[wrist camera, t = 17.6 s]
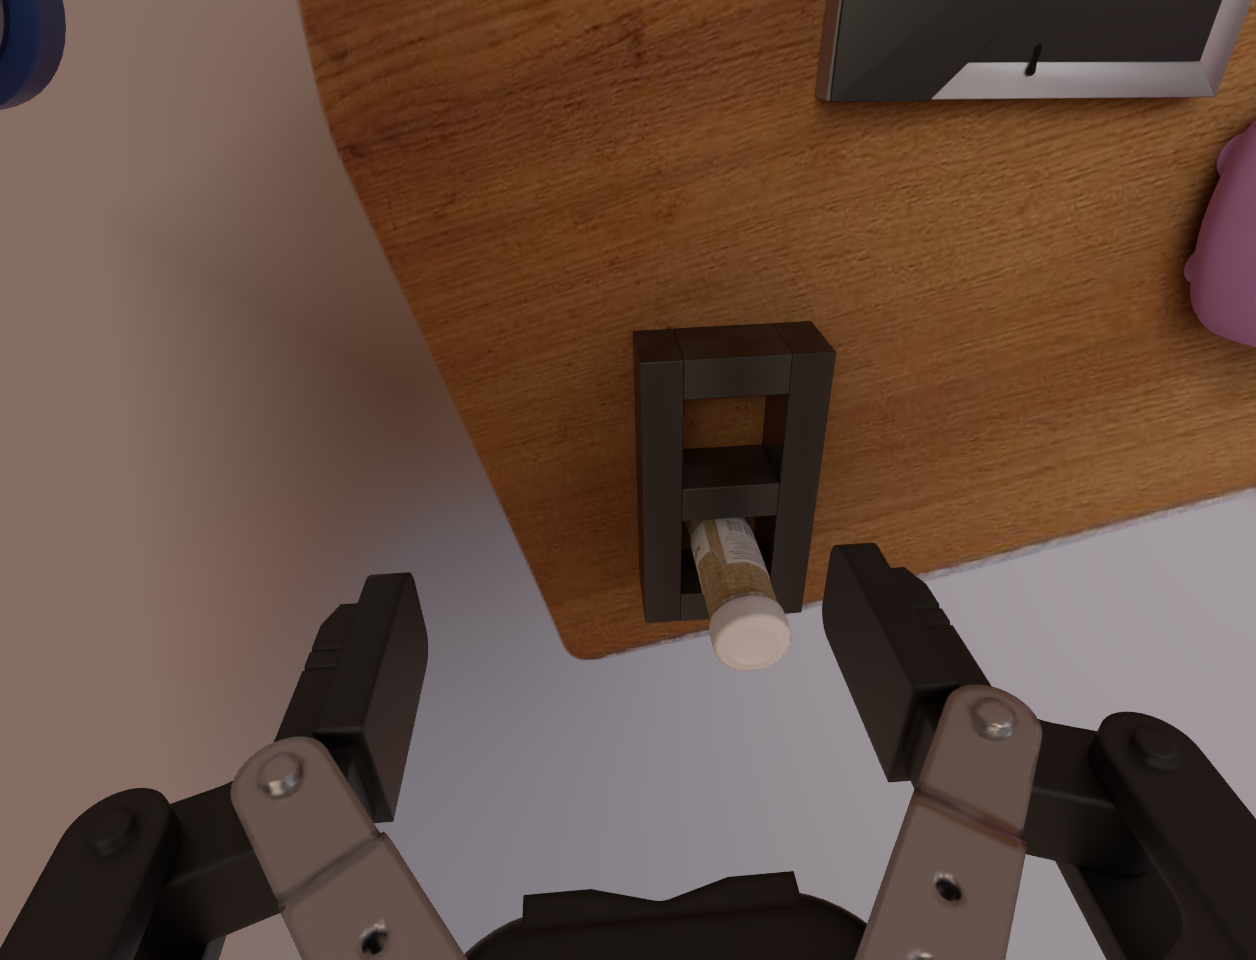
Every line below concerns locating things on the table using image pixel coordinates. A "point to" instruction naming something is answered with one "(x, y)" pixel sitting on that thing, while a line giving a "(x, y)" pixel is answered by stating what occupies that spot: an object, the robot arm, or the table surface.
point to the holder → (728, 453)
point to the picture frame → (1025, 49)
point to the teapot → (1228, 247)
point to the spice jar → (738, 594)
